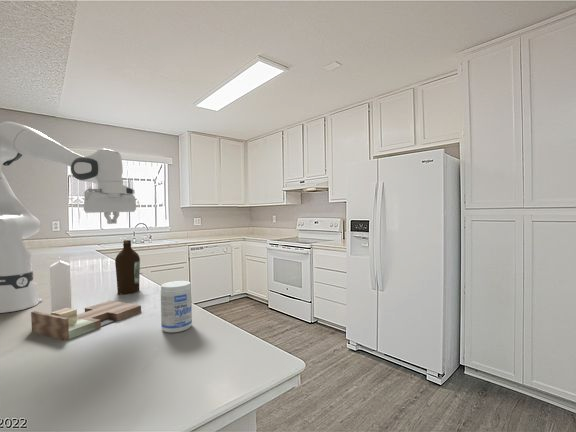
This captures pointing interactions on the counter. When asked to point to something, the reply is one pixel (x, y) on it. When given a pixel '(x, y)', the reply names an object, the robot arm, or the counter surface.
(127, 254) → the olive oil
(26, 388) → the counter surface
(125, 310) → the board
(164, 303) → the supplement tub
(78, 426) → the counter surface
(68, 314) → the block
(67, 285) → the milk
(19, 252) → the robot arm
